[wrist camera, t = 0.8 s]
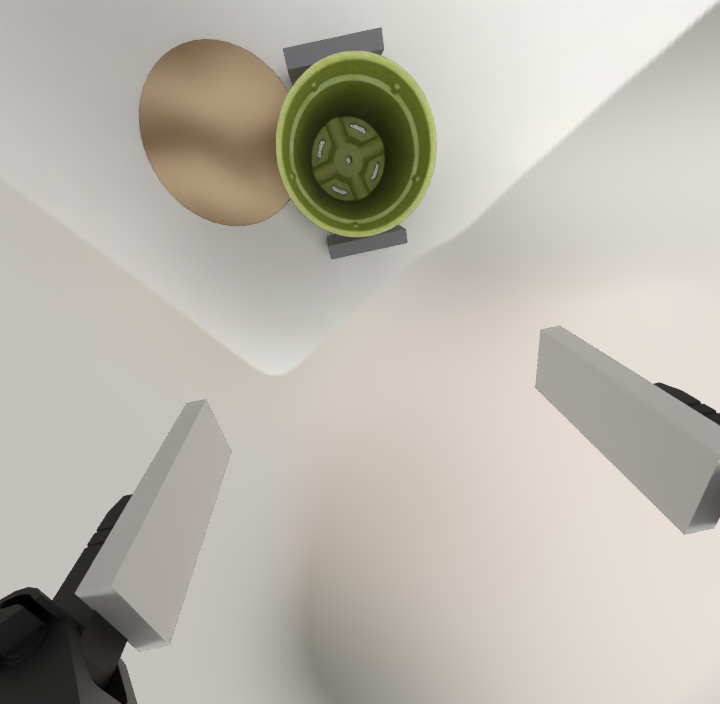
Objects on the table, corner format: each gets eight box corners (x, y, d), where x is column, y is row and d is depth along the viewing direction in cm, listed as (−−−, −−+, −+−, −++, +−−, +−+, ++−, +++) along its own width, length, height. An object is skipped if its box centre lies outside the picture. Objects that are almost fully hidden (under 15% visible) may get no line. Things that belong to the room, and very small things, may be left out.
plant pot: (382, 237, 30) (402, 256, 23) (277, 202, 28) (260, 209, 20) (422, 119, 27) (463, 93, 19) (305, 68, 24) (297, 15, 17)
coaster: (108, 60, 23) (106, 59, 23) (278, 24, 23) (278, 22, 23) (183, 238, 29) (182, 239, 28) (320, 208, 29) (320, 209, 28)
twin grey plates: (289, 72, 24) (282, 48, 20) (370, 55, 24) (381, 27, 20) (329, 248, 30) (331, 259, 26) (395, 233, 30) (407, 242, 26)
